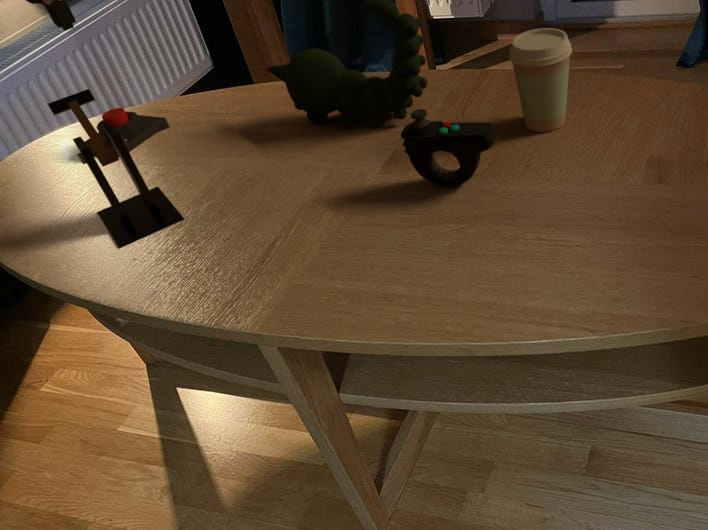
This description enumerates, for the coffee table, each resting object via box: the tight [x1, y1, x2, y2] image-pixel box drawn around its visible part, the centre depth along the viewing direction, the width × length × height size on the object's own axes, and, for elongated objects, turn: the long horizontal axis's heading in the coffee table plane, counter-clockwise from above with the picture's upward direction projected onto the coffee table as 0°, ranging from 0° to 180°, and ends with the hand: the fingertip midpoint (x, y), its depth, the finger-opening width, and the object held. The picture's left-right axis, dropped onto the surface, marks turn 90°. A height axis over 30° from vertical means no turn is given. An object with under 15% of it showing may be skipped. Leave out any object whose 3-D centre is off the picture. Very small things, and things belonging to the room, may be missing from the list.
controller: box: [400, 108, 498, 188], centre depth 90 cm, size 4×12×10 cm, turn 76°
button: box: [101, 107, 129, 127], centre depth 113 cm, size 4×4×2 cm
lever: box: [47, 88, 120, 167], centre depth 92 cm, size 13×6×2 cm, turn 36°
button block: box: [84, 111, 171, 158], centre depth 115 cm, size 11×9×4 cm
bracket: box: [72, 125, 185, 249], centre depth 93 cm, size 12×9×13 cm
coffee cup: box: [508, 27, 573, 133], centre depth 98 cm, size 8×8×12 cm
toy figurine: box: [266, 0, 428, 128], centre depth 105 cm, size 9×19×25 cm
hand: (68, 28), depth 103 cm, fingers closed
